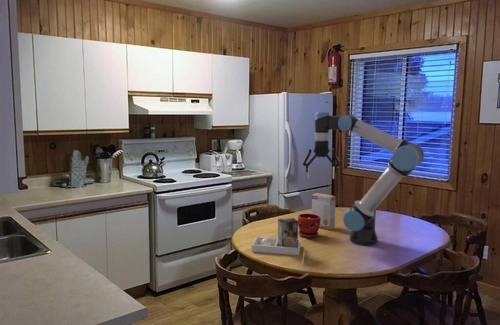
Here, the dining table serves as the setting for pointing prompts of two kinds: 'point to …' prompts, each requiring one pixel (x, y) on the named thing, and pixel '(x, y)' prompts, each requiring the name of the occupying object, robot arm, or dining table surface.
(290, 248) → the divided tray
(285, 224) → the coffee box
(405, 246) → the dining table surface
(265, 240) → the egg
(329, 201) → the cracker box
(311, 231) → the plant pot
